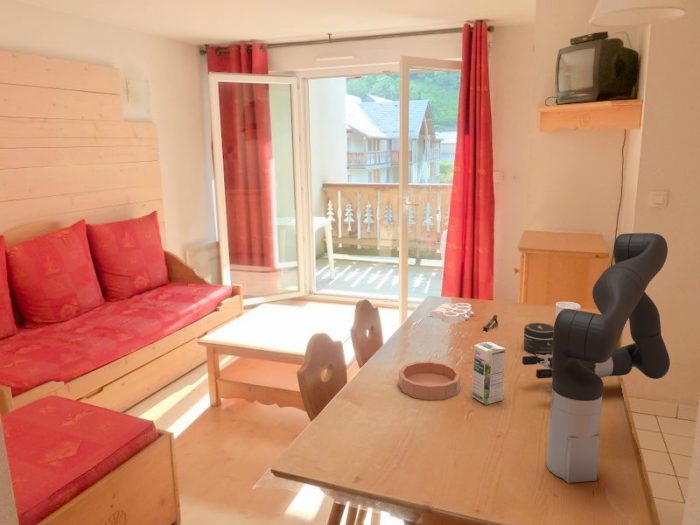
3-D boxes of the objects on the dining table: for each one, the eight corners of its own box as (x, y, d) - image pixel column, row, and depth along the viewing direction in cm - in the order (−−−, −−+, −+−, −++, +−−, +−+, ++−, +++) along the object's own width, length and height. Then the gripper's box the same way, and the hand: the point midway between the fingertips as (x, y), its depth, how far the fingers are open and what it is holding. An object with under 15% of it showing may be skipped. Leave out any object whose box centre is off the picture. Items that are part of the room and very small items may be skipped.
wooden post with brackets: (501, 323, 196) (498, 313, 194) (489, 337, 192) (486, 327, 190) (496, 322, 197) (494, 312, 195) (484, 335, 193) (482, 326, 191)
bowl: (467, 397, 142) (467, 384, 141) (406, 401, 140) (406, 388, 139) (449, 372, 157) (450, 360, 156) (395, 375, 156) (395, 363, 155)
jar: (534, 357, 167) (536, 334, 166) (516, 346, 177) (518, 323, 175) (563, 354, 170) (564, 330, 168) (543, 342, 179) (545, 320, 178)
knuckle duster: (444, 307, 219) (480, 313, 212) (426, 320, 204) (463, 326, 197) (444, 299, 219) (480, 305, 211) (426, 311, 204) (463, 318, 196)
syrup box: (470, 396, 142) (472, 344, 139) (488, 391, 145) (490, 340, 142) (485, 405, 138) (488, 351, 134) (503, 400, 140) (506, 347, 137)
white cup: (552, 334, 187) (554, 306, 185) (555, 327, 194) (557, 300, 191) (577, 337, 183) (579, 309, 181) (579, 330, 190) (581, 303, 188)
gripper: (576, 340, 148) (519, 343, 147) (605, 361, 135) (542, 364, 133) (574, 366, 150) (517, 369, 148) (603, 389, 136) (540, 393, 135)
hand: (529, 367), depth 141 cm, fingers open, 8 cm apart
